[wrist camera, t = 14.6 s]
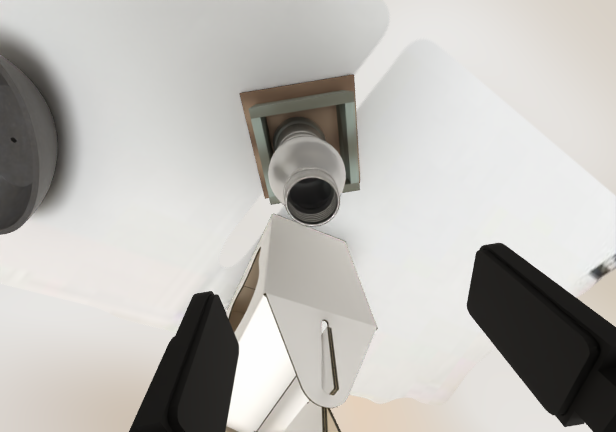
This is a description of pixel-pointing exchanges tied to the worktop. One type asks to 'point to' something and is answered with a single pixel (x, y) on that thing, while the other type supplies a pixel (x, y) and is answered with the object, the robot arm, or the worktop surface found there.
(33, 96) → the bowl
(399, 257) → the worktop surface
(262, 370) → the gable box
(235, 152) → the worktop surface
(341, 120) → the bottle holder
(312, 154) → the silver bottle
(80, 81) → the worktop surface
